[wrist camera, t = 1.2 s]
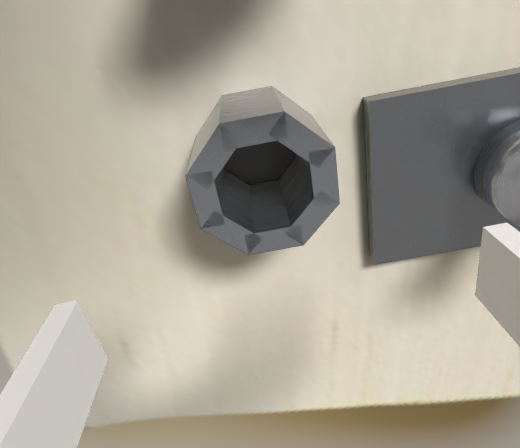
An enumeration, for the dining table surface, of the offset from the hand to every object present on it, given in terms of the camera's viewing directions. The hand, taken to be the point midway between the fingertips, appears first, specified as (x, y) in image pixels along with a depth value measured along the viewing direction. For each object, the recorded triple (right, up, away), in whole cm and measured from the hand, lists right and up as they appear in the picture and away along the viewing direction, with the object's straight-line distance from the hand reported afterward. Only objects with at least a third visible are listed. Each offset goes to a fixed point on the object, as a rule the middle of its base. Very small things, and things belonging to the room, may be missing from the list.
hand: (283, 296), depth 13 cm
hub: (-1, +7, +13) cm, 15 cm away
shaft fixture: (+15, +7, +14) cm, 21 cm away
